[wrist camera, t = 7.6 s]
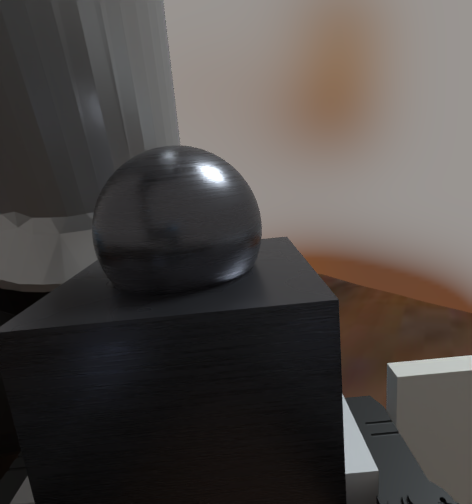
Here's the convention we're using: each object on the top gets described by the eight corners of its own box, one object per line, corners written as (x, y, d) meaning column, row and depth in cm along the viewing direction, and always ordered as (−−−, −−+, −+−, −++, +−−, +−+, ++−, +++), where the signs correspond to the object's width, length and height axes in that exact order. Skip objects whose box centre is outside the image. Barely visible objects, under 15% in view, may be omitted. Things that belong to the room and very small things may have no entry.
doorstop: (44, 995, 8) (-284, 161, 4) (140, 568, 17) (62, 166, 13) (451, 961, 8) (498, 82, 4) (336, 550, 17) (317, 140, 13)
